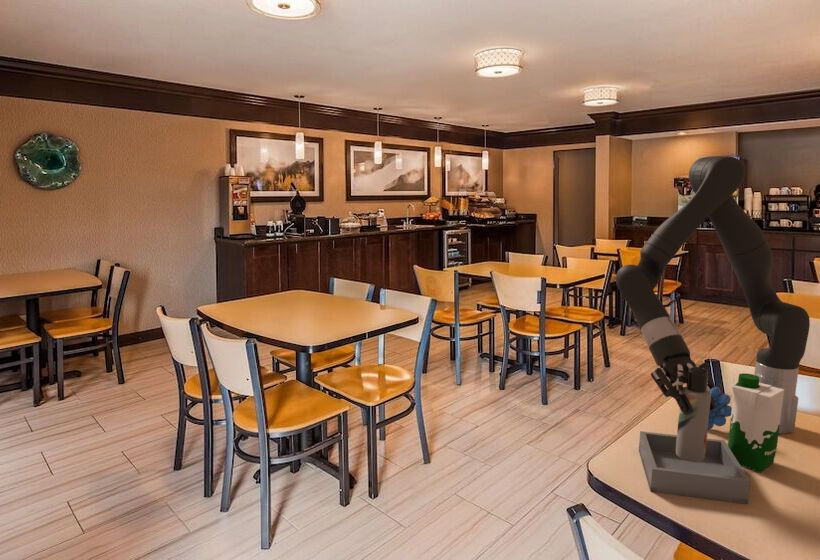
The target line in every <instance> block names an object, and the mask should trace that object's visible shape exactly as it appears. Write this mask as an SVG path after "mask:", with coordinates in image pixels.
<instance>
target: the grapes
mask: <svg viewBox="0 0 820 560" xmlns="http://www.w3.org/2000/svg"><path fill="white" fill-rule="evenodd" d="M710 393H711V396H712V398H713V400H714V401H715V403H716V409H714V410H712V411H709V420H708V430H711V429H713V427H714V426H717V427H722V426H725V425H726V424H727V423H726V422H727V418H729V417H731V412H732V405H729V404H730V403H731V399H732V398H731V396H730V395H729V394H727V393H721V388H720V387H718V386H716V385H715V387H714V388H712V389H711V390H710Z"/></svg>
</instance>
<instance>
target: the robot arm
mask: <svg viewBox="0 0 820 560" xmlns="http://www.w3.org/2000/svg"><path fill="white" fill-rule="evenodd" d="M745 175H746V168H745V165H744V163H743V162H742V161H741V160H740V159H738V158H737V157H734V156H728V155H714V156H705V157H700V158H698V159H696V160H695V161H694V162H693V164H691V167H690V168H689V172H688V181H689V185H690V187H691V190H692V191H693V193H694V195H693V196H692V197H691V198H690V199H689V201H688V202H686V203H685V204H684V205H683V206H682V207H681V208H680V209H678V210H677V211H676V212H675V213H673V214H672V215H671V216H669V217H668V218H667V219H666V220H664V221H663V222H662V223H661V224H660V225H659V226H658V227H657V228H656V230H654V231H653V233H652V234H651V236H650V237H649V238H648V239H647V241H646V242H645V244H644V245H643V246H642V248H641V250H640V252H639V253H640V254H639V255H640V258H639V262H638V263H637V265H636V264H626V265H623V266H621V267H620V268H619V269H618V270H617V272H616V274H615V283H616V286H617V288H618V291H619V293H620V294H621V295H622V297H623V299H624V300H625V302H626V304H627V306H629V308H630V309H631V312H632V314H633V316H634V319H635V321H636V322H637V325H638V327H639V328H640V331H641V333H642V337H643V339H644V342H645V344H646V346H647V348H648V350H649V352H650V353H651V356H652V358H653V360H654V361H655V364H656V366H658V367H657V368H655V369H654V370H653V371H651V372H650V376H651V378H652V379H653V381H654V382H655V384H656V385H657V387H658V388H659V390H660V391H661V393H662V394H663V395H664V396H665V397H666V398H668V397H671V398H673V399H674V400H675V402H676V404H677V406H678V407H679V409H680V410H681V411H682V412H683V413H684V414H685V415H687V414H690V413H692V412H693V408H692V406H691V405H690V403H689V401H688V399H687V397H686V395H683V394H684V390H683V387H684V384H685V385H686V384H687V375H688V369H690V368H692V367H700V368H703V369H705V370H706V371H708V383H707V390H708V391H709V392H710V390H711V389H712V388H714V387H715V386H716V384H715V382H714V379H713V376H712V373H711V370H710V369H709V365H708V364H707V363H706V362H702V363H701V364H698V363H695V361H693V359H692V357H691V351H690V349H689V347H688V344H687V343H686V341H685V339H684V338H683V336H682V334H681V332H680V331H679V328H678V326H677V325H676V324H675V322H674V321H673V319H672V318H671V316H670V315H669V312H668V311H667V308H666V307H665V305H664V304H663V302H662V301H661V300H660V298H659V297H658V296H657V295H656V293H655V291H654V290H655V288H657V285H658V283H659V281H660V280H661V278H662V276H663V274H664V271H665V269H666V267H667V265H668V264H669V263H670V262H671V260H672V259H673V258H674V257H675V256H676V254H677V253H678V252H679V251H680V249H681V248H682V247H683V245H684V244H685V243H686V242H687V240H688V239H689V238H690V237H691V236H692V235H693V233H694V232H695V231H696V230H697V229H698V228H700V226H701V225H702V224H703V223H704V222H705V221H706V220H707V219H708V218H709V220H710V222H711V225H712V227H713V228H714V231H715V233H716V235H717V237H718V239H719V241H720V243H721V246H722V248H723V251H724V253H725V255H726V257H727V260H728V262H729V264H730V265H731V268H732V269H733V272H734V274H735V275H736V279H737V281H738V283H739V285H740V288H741V289H742V292H743V293H744V297H745V299H746V302H747V306H748V309H749V312H750V315H751V319H752V321H753V323H754V325H755V327H756V329H758V330H759V331H760V332H761V333H763V334H764V335H767V336H770V337H771V338H772V339H771V342H770V346H769V347H765V348H761V349H759V350H758V351H757V352H756V355H755V356H756V359H755V365H754V374H753V375H756V376H758V377H759V383H763V384H768V385H771V386H773V387H776V388H780V389H784V396H783V402H782V410H781V418H780V426H779V434H782V435H783V434H789V433H791V434H794V433H795V427H796V421H797V412H798V405H799V397H798V396H797V394H796V393H797V386H798V384H797V383H798V378H799V377H798V376H799V369H800V368H799V367H800V363H801V361H802V359H803V358H804V355H805V353H806V349H807V343H808V338H809V333H810V327H811V326H810V320H811V319H810V316H809V313H808V311H807V310H806V309H805V308H803V307H801V306H798V305H795V304H792V303H788V302H784V301H783V300H781V299H780V298H779V296H778V294H777V292H776V290H775V288H774V286H773V284H772V280H771V275H772V272H773V271H772V270H773V265H774V255H773V251H772V249H771V247H770V244H769V242H768V240H767V237H766V236H765V234H764V232H763V230H762V228H761V227H760V226H759V225H758V224H757V223H756V222H755V221H754V219H753V218H751V216H750V215H748V213H746V211H745V210H743V208H742V207H741V206H740V205H739V204H738V202H737V201H736V198H735V196H734V193H735V192H736V191H738V189H739V188H740V187H741V185H743V182H744V179H745ZM714 409H716V403H715V401H714V400H713V398H712V396H711V401H710V411H712V410H714ZM779 434H778V435H779Z"/></svg>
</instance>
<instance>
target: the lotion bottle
mask: <svg viewBox="0 0 820 560" xmlns="http://www.w3.org/2000/svg"><path fill="white" fill-rule="evenodd" d="M707 384H708V371H706V370H705V369H703V368H700V367H692V368H690V369H688V375H687V383H686V384H685V385H686V386H683V390H684V394H683V395H686V397H687V399H688V401H689V403H690V405H691V406H692V408H693V412H692V413H690V414H687V415H685V414H684V413H683V412H682V411H681V410H680V408H679V410H678V420H677V421H678V422H677V432H676V435H677V440H676V455H677V456H678V457H679V458H681V459H683V460H686V461H690V462H701V461H703V460H704V457H705V449H706V439H708V430H709V429H708V420H709V411H710V401H711V393H710V392H709V391H708V390H707Z"/></svg>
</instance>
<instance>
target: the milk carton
mask: <svg viewBox="0 0 820 560" xmlns="http://www.w3.org/2000/svg"><path fill="white" fill-rule="evenodd" d="M731 392H732V394H731V395H732V403H731V407H732V412H731V416H730V420H729V421H730V423H729V424H730V425H729V432H728V440H727V445H728V447H729V448H730V450H731V452H732V453H733V455H734V456H735V458H736V459H737V461H738V463H739V464H740V466H741V467H745V468H747V469H750V470H753V471H755V472H758V473H761V472H763V471H765V470H766V469H767V468H768V467H770V466H771V465H773V464H774V461H775V457H776V452H777V447H778V441H779V426H780V418H781V410H782V402H783V396H784V389H780V388H776V387H773V386H771V385H768V384H763V383H759V377H758V376H756V375H754V374H753V373H739V374H738V380H737V382H736V384H734V385H733V386H732V387H731Z"/></svg>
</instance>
